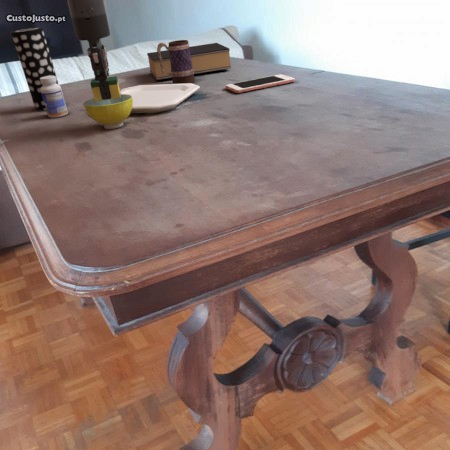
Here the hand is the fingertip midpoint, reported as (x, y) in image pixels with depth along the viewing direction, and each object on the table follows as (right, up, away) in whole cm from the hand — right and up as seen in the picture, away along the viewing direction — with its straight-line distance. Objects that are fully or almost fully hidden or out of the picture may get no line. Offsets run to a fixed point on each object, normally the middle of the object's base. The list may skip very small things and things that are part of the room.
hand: (107, 96), depth 112 cm
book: (+16, +29, +50) cm, 60 cm away
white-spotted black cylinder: (-24, +8, +27) cm, 37 cm away
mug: (+14, +19, +36) cm, 42 cm away
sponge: (0, 0, 0) cm, 0 cm away
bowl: (+1, -6, +3) cm, 7 cm away
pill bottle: (-18, +2, +18) cm, 25 cm away
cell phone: (+38, +13, +22) cm, 46 cm away
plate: (+7, +6, +19) cm, 21 cm away
